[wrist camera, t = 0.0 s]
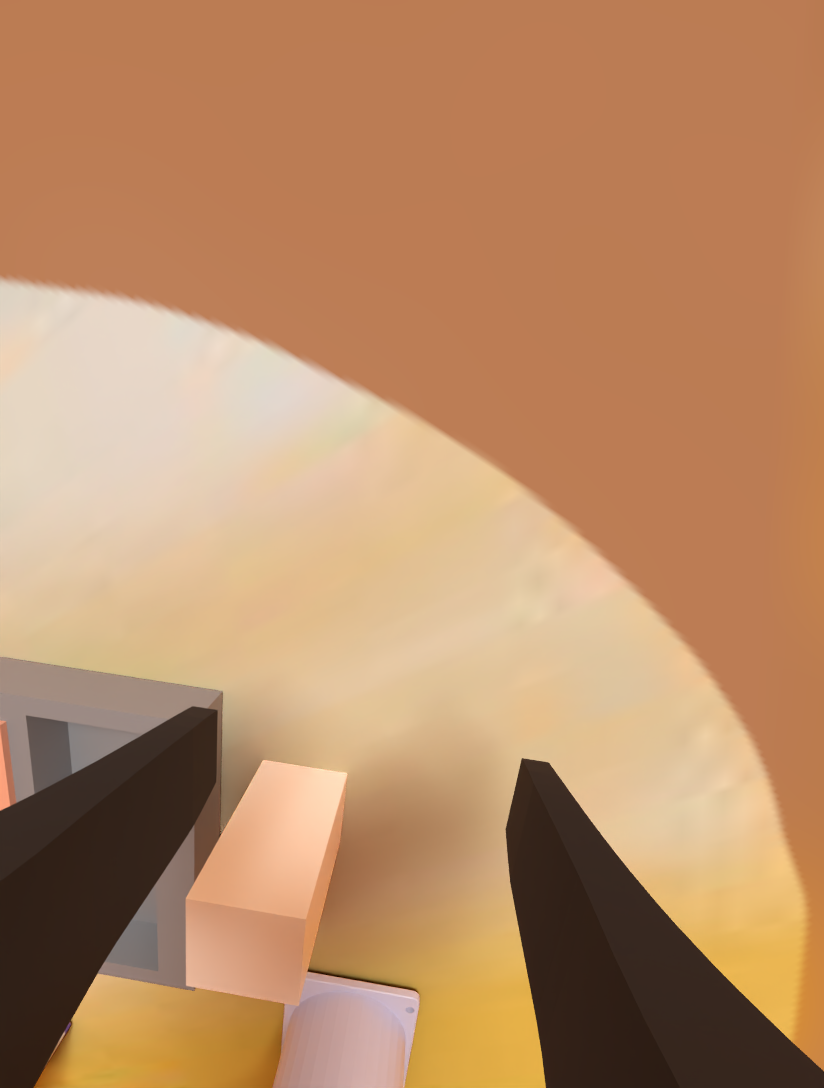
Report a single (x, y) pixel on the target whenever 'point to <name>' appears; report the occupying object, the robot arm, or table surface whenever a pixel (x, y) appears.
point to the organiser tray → (83, 738)
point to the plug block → (266, 885)
